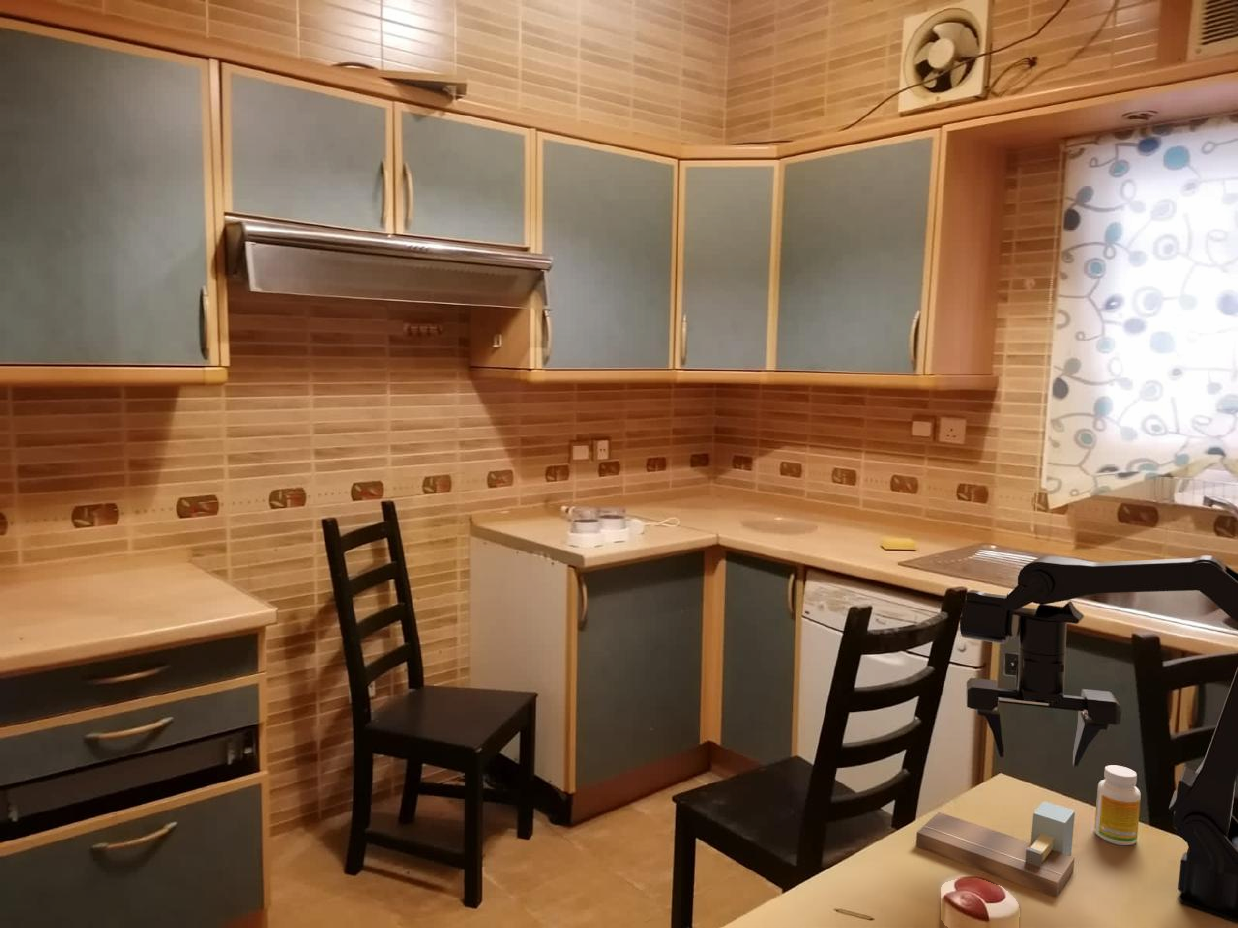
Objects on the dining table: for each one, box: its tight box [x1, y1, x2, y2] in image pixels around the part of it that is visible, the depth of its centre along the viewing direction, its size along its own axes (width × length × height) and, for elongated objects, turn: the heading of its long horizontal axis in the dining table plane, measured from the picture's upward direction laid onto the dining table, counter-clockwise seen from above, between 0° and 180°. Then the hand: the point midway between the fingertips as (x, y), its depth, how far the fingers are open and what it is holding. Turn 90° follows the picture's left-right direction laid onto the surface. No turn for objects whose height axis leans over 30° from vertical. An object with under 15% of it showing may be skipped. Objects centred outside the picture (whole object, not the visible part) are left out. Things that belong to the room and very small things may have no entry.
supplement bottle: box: [1093, 764, 1142, 846], centre depth 127 cm, size 5×5×10 cm
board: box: [915, 811, 1075, 898], centre depth 121 cm, size 18×8×2 cm, turn 50°
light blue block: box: [1025, 800, 1076, 868], centre depth 120 cm, size 4×11×6 cm, turn 140°
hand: (1037, 760), depth 124 cm, fingers open, 9 cm apart
